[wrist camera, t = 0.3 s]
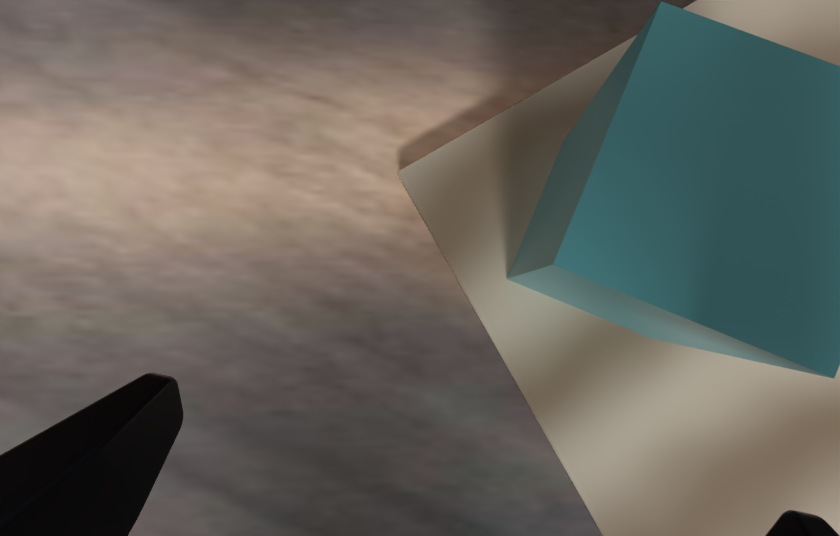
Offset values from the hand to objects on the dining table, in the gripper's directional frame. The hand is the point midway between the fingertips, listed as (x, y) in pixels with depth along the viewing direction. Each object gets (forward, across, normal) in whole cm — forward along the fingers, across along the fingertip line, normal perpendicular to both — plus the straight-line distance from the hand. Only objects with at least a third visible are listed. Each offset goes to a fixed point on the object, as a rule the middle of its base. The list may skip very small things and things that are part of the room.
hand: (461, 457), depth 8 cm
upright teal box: (+14, -4, +3) cm, 14 cm away
